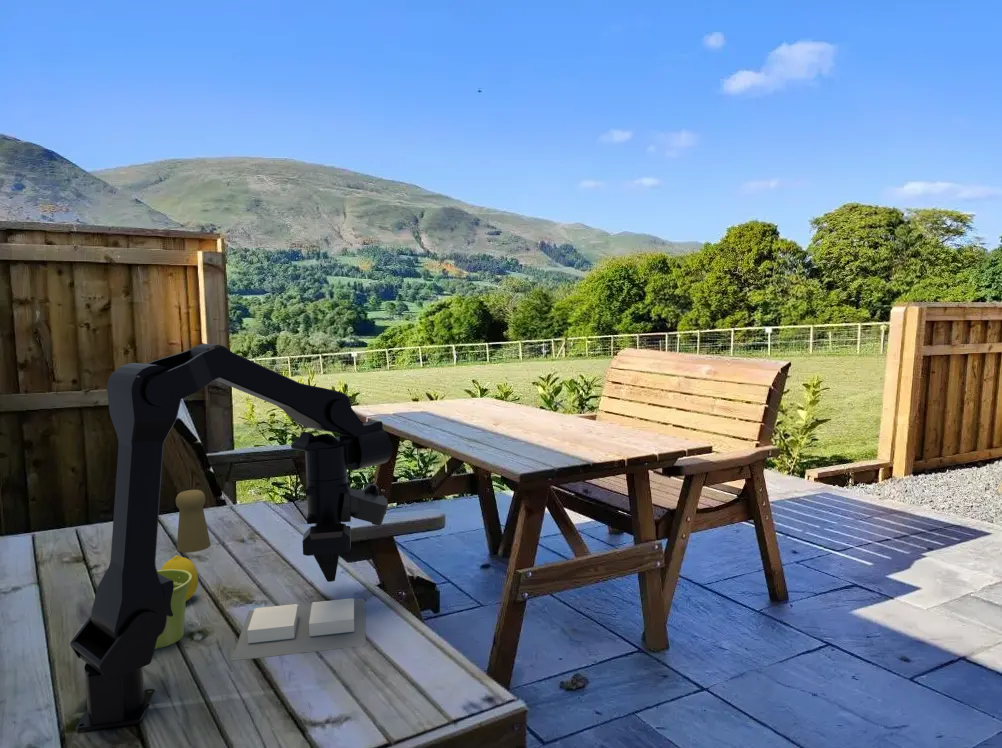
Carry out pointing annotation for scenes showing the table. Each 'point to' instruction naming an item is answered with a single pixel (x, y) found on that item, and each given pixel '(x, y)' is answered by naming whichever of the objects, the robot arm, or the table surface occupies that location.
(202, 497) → the cork
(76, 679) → the table surface
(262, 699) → the table surface
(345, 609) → the tile
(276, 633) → the tile
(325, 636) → the slate mat
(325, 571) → the robot arm
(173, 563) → the lemon
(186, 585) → the plant pot
